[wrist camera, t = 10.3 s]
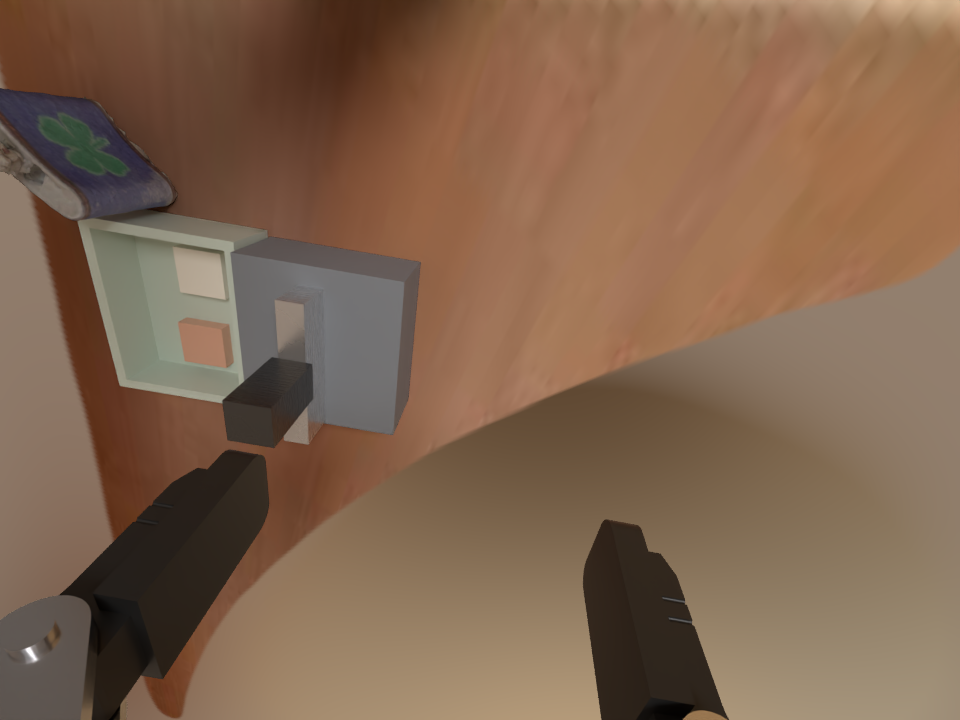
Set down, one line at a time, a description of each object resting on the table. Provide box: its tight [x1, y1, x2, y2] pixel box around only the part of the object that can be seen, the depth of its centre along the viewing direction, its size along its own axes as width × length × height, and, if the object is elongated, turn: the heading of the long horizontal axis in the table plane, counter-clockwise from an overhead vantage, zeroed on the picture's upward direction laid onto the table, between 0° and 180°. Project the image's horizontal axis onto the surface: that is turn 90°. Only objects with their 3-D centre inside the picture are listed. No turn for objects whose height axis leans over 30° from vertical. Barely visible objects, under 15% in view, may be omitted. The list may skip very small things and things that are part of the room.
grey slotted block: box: [230, 237, 421, 435], centre depth 38 cm, size 14×13×6 cm
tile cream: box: [172, 244, 229, 300], centre depth 38 cm, size 4×4×1 cm
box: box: [78, 209, 268, 403], centre depth 39 cm, size 15×12×5 cm
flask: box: [0, 88, 177, 221], centre depth 31 cm, size 9×3×11 cm, turn 36°
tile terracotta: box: [178, 317, 234, 368], centre depth 41 cm, size 4×4×1 cm
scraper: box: [222, 285, 326, 448], centre depth 31 cm, size 12×3×10 cm, turn 172°
